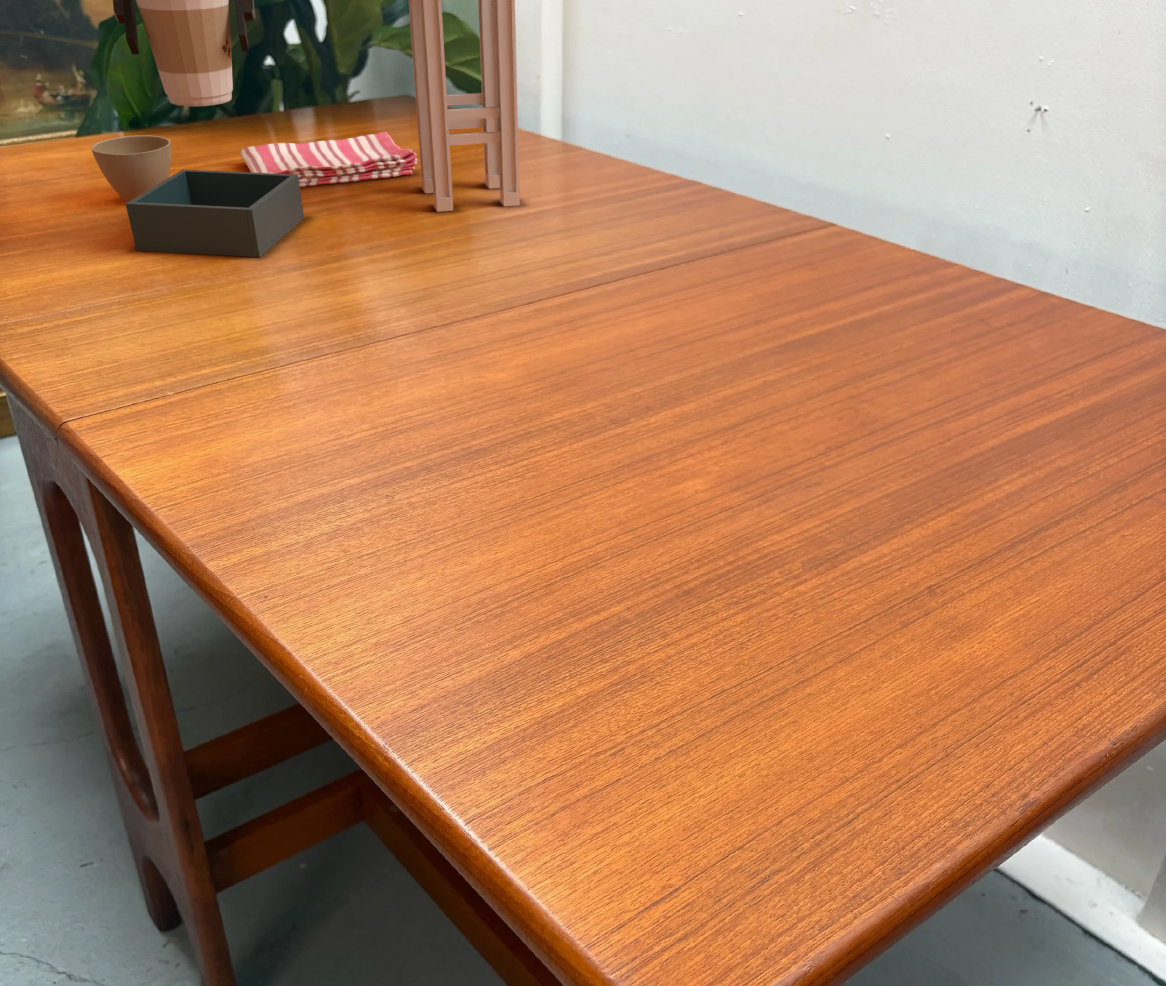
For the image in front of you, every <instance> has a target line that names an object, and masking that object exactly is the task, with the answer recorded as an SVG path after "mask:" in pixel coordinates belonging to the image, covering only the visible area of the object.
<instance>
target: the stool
mask: <svg viewBox="0 0 1166 986" xmlns="http://www.w3.org/2000/svg"><path fill="white" fill-rule="evenodd" d="M442 7H443V6H442V0H408V14H409V25H410V39H411V41H410V42H411V53H412V54H411V55H412V66H413V68H412V69H413V81H414V94H415V95H414V96H415V107H416V108H415V109H416V122H417V134H418V136H417V137H418V148H419V149H418V150H419V162H420V177H421V178H420V179H421V190H422V191H423V193H424V194H433V195H432V196H433V207H434V209H435V211H436V212H439V213H440V212H451V211H453V212H454V196H453V180H452V162H451V146H465V145H467V146H468V145H479V144H481V145H483V156H484V157H483V158H484V159H483V161H484V180H485V181H484V183H485V186H486V187H487V188H488V189H499V202H500V203H501V205H502V206H503V207H515V206H521V205H520V204H521V202H520V163H519V162H520V160H519V159H520V157H519V122H518V120H519V119H518V118H519V117H518V78H517V77H518V75H517V35H516V0H477V10H478V11H477V13H478V35H479V36H478V37H479V55H480V56H479V57H480V58H479V59H480V60H479V62H480V82H481V84H480V86H481V87H480V88H481V92H476V93H456V94H448V93H447V92H448V90H447V75H446V58H445V40H444V24H443V23H444V22H443V8H442ZM462 105H481V107H466V108H448V106H462ZM478 128H482V132H468V133H454V134H453V133H451V134H450V130H461V129H463V130H464V129H478Z"/></svg>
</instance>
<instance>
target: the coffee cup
mask: <svg viewBox="0 0 1166 986" xmlns="http://www.w3.org/2000/svg"><path fill="white" fill-rule="evenodd" d="M135 2H136V5H137V9H138V11H139V15H140V18H141V21H142V24H143V27H144V30H145V31H144V32H145V33H146V36H147V40H148V44H149V46H150V49H151V52H152V55H153V59H154V61H155V65H156V68H157V71H158V74H159V78H160V81H161V84H162V88H163V90H164V93H165V94H166V95H167V97H168V101H169V103H170V104H171V105H176V106H181V107H208V106H216V105H221V104H225V103H228V102H230V101H231V100H232V99H233V96H232V95H233V94H232V92H233V90H234V87H233V86H234V83H233V63H232V60H233V59H232V58H233V57H232V41H231V37H232V36H231V18H230V17H231V16H230V0H135Z"/></svg>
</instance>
